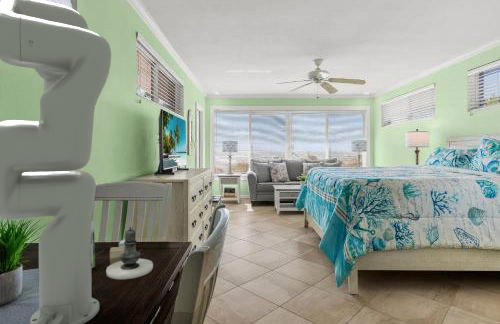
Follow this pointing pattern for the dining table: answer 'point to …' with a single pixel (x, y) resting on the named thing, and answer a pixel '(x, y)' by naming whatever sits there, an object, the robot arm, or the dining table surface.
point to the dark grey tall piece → (130, 251)
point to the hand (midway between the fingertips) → (59, 159)
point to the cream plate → (118, 273)
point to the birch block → (116, 254)
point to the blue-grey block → (122, 244)
